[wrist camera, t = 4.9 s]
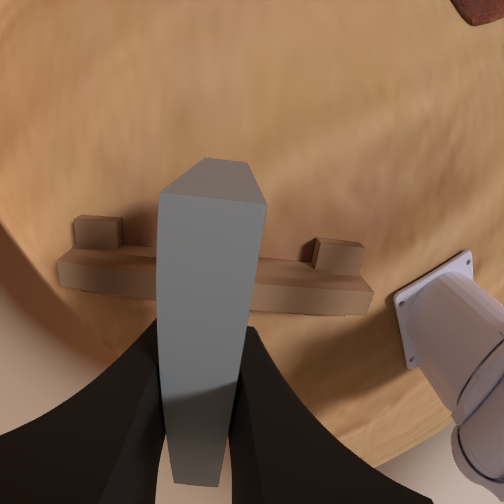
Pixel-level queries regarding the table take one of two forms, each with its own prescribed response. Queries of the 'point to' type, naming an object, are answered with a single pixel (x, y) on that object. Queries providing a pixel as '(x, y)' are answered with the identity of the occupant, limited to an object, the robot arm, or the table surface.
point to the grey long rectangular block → (204, 307)
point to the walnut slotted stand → (266, 280)
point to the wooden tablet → (480, 10)
